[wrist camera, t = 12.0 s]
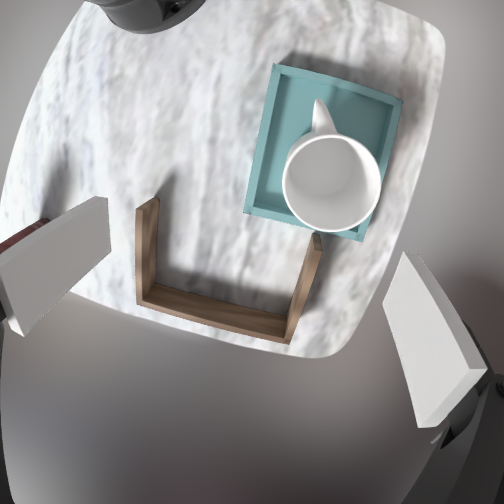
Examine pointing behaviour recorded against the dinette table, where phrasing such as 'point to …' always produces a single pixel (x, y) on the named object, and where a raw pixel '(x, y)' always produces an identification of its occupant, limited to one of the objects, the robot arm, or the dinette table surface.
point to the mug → (330, 177)
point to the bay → (208, 308)
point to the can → (22, 234)
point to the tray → (300, 123)
